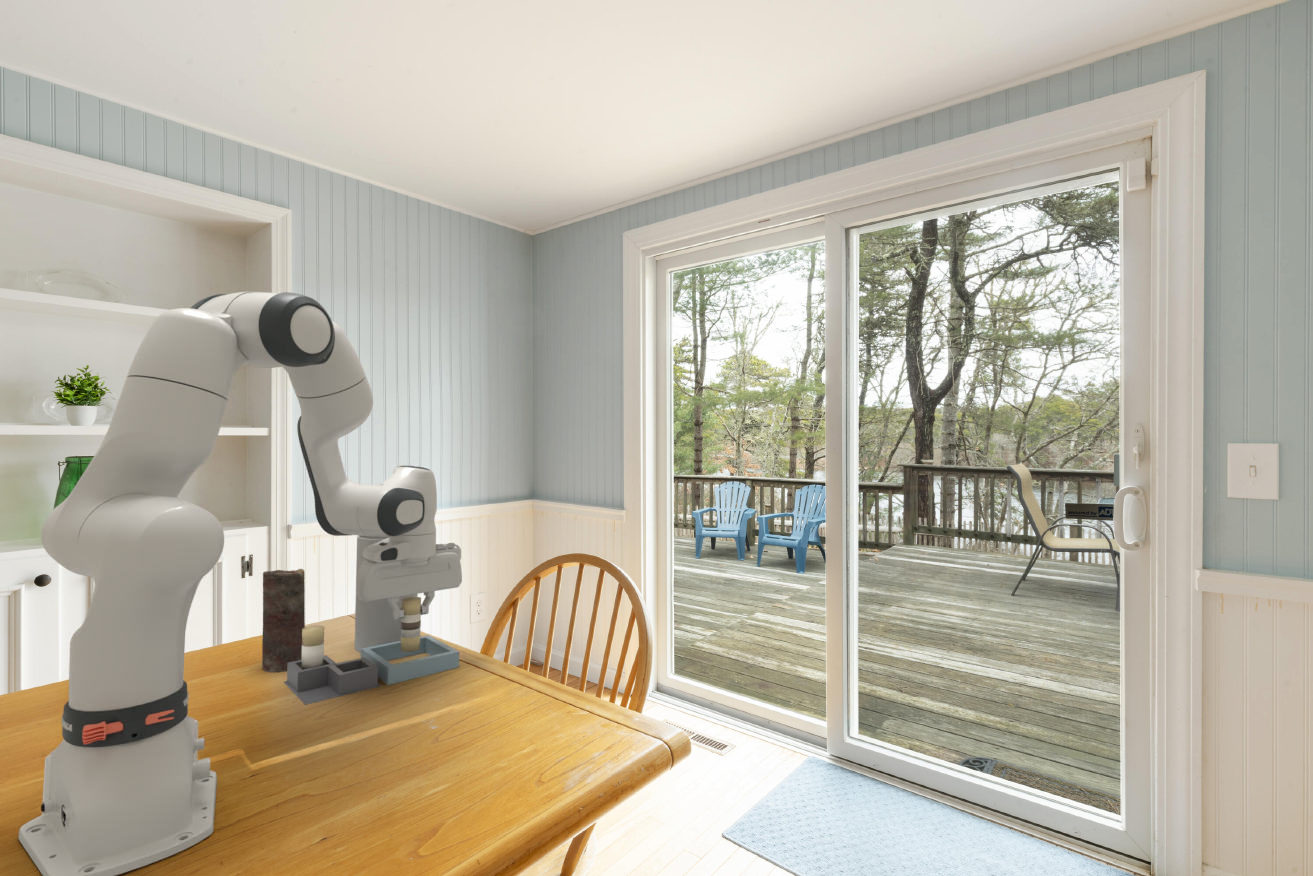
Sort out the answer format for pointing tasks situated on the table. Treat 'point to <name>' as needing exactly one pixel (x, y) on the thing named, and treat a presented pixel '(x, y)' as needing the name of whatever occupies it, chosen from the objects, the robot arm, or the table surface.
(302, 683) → the fuse holder
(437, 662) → the parts tray
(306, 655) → the cylinder
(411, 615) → the fuse
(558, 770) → the table surface
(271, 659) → the candle
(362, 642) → the cylinder vase
